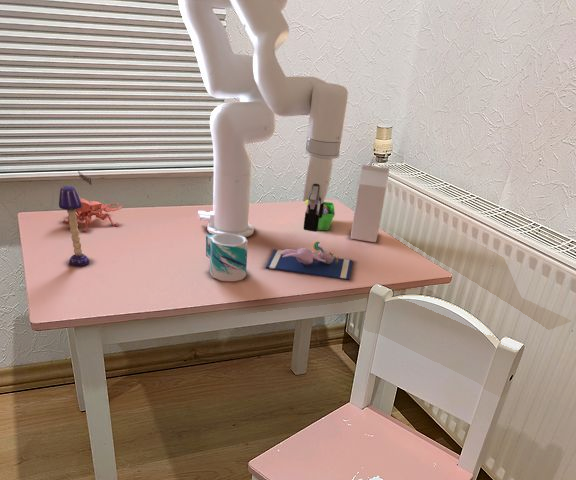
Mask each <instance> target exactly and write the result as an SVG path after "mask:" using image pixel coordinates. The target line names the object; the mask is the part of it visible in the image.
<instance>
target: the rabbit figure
mask: <svg viewBox="0 0 576 480" xmlns="http://www.w3.org/2000/svg"><path fill="white" fill-rule="evenodd" d="M320 243H321V242H320V241H315V242H314V243H313V249H314V250H315V251H311V249H309V248H307V247H300V248H298V249H293V248H286V249H283V251H282V252H281V253H280V255H284V256H282V257H288V256H294V257H296V258H297V260H298V261H299V262H300V263H303V264H306V265H308V264H311V263H312V262H313V260H314V261H316V262H319V261H320V262H322V263H325V264H331V263H332V261H333V260H334V258H336V262H338V258H339V257H340V256H336V255H334V254H335V252H333V253H332V252H327V251H325V250H324V248H323V247H321V246H320V245H319V244H320ZM316 251H317V252H319V253H318V254H316ZM336 264H337V263H336Z"/></svg>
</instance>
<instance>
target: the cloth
mask: <svg viewBox="0 0 576 480" xmlns="http://www.w3.org/2000/svg"><path fill="white" fill-rule="evenodd" d="M282 251H284V249H283V250H282V249H277V248H276V249H273V252H272V253H271V256H270V258H269V260H268V262H267V264H266V265H265V269H268V270H275V271H282V272H288V273H295V274H302V275H303V274H304V275H310V276H317V277H324V278H331V279H339V280H345V281H350V277H351V273H352V267H353V262H354V260H353V259H347V258H339V257H338V262H336V258H337V257H336V258H334V260H333V261H332V263H331V264H325V263H322V262H320V261H319V262H316V261H314V260H313V262H312V263H311V264H308V265H306V264H303V263H300V262H299V261H298V260H297V258H296V257H294V256H288V257H282V256H284V255H280V253H281V252H282ZM336 263H337V264H336Z"/></svg>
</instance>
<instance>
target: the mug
mask: <svg viewBox="0 0 576 480" xmlns="http://www.w3.org/2000/svg"><path fill="white" fill-rule="evenodd" d="M248 243H249V241H248V239H247V237H244V236H241V235H238V234H231V233H222V234H207V235H205V257H207V258H208V259H210V260H209V261H210V265H209V266H210V267H209V268H210V269H209V273H210V275H211V277H212V278H213V279H216V280H218V281H221V282H237V281H241V280H243V279H244V278H245V277H247V266H248V245H249V244H248Z"/></svg>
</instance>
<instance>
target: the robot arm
mask: <svg viewBox="0 0 576 480" xmlns="http://www.w3.org/2000/svg"><path fill="white" fill-rule="evenodd" d="M177 1H178V6H179V11H180V14H181V16H182V20H183V22H184V24H185V26H186V29H187V31H188V35H189V36H190V39H191V42H192V45H193V48H194V52H195V56H196V60H197V63H198V67H199V70H200V75H201V77H202V80H203V83H204V87H205V89H206V91H207V93H208V95H210V96H211V97H212V98H215V99H222V100H223V99H224V100H225V99H239V101H230V102H225V103H221V104H219V105H218V106H216V107H215V108H214V109H213V110H212V112H211V115H210V118H209V129H210V135H211V140H212V141H211V142H212V149H213V151H212V152H213V182H212V183H213V184H212V185H213V186H212V187H213V189H212V191H213V193H212V195H213V196H212V211H211V210H210V211H209V212H208V211H205V210H198V211H197V218H198V219H199V221H203V222H208V223H207V225H206V230H207V232H208V233H209V234H210V235H213V234H222V233H231V234H238V235H241V236H244V237H245V238H247V237H250V236H252V235H253V234H254V232H255V227H254V225H252V224H251V223H249V220H250V219H249V217H250V201H251V200H250V199H251V177H252V162H251V156H250V155H249V152H248V149H247V147H246V145H248V144H254V143H261V142H266V141H267V140H269V139H270V138H271V137H273V135H274V133H275V130H276V122H277V121H276V115H277V116H279V117H283V118H284V117H296V116H297V117H298V116H309V117H308V118H309V119H308V125H307V127H308V128H307V136H306V145H305V151H304V152H305V154H306V155H308V160H307V166H306V173H305V179H304V186H303V192H302V193H303V194H302V201H303V202H306V200H308V205H307V204H306V210H305V212H304V219H303V221H304V222H303V230H304V231H309V232H315V233H316V232H318V231H319V230H318V223H319V218H322V215H323V208H324V202H325V200H326V198H327V194H328V191H329V187H330V182H331V177H332V170H333V164H334V159H339V158H340V154H341V149H342V140H343V134H344V127H345V122H346V121H345V120H346V113H347V107H348V101H349V91H348V89H347V87H345V86H343V85H341V84H336V83H331V82H327V81H324V80H322V79H320V78H318V77H316V76H286V74H285V72H284V71H283V69H282V66H281V65H280V63H279V60H278V59H277V56H276V51H277V50H278V49H279V48H281V47H282V46H283V45H284V44H285V42H286V40H287V39H288V37H289V33H290V27H289V24H288V21H287V20H286V18H285V16H284V15H283V12H282V11H283V10H284V9H285V8H286V6H287V3H288V0H177ZM214 8H215V9H227V10H234V12H235V14H236V15H237V17H238V19H239V22H240V23H241V25H242V26H243V29H244V30H245V33H246V34H247V36H248V38H249V40H250V42H251V44H252V46H253V49H254V50H253V55H249V54H241V53H240V54H239V53H237V54H236V53H235V52H234V50H233V48H232V46H231V43H230V39H229V35H228V32H227V30H226V28H225V26H224V24H223V22H222V21H221V19H220V18H219V17H218V16H217V14H216V13H215V12H214V10H213V9H214ZM308 198H309V199H308Z"/></svg>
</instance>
